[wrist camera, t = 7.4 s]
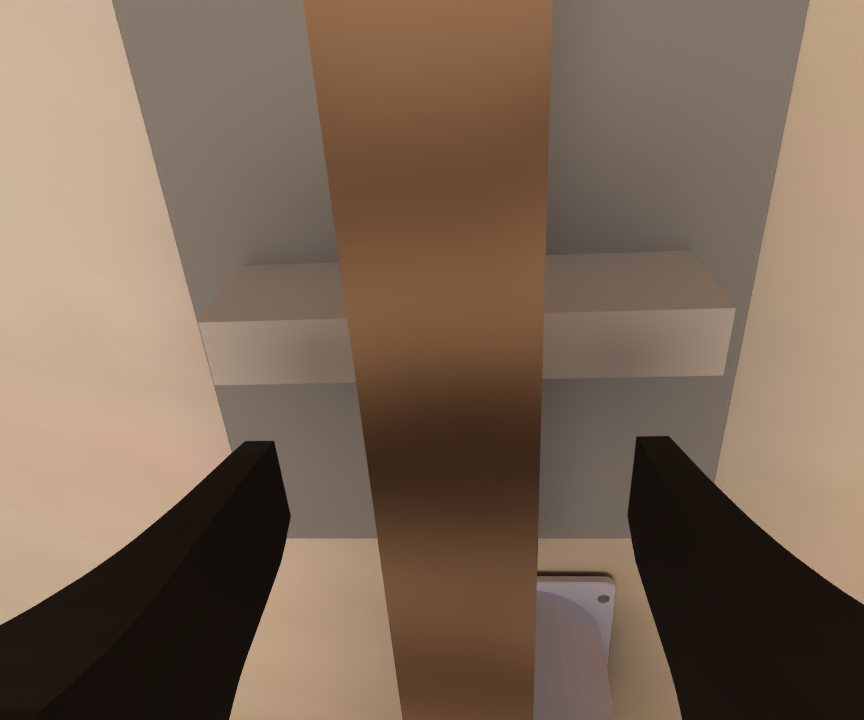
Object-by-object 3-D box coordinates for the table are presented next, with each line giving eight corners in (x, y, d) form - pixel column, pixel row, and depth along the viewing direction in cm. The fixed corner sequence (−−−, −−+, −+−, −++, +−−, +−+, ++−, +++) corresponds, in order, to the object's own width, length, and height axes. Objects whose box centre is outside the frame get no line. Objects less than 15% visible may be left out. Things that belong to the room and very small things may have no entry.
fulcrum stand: (696, 520, 27) (737, 624, 23) (261, 520, 28) (223, 619, 24) (823, -165, 16) (950, -212, 12) (102, -105, 17) (-21, -129, 13)
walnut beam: (521, 622, 23) (531, 771, 19) (421, 621, 24) (409, 767, 19) (530, -177, 12) (560, -254, 8) (342, -160, 13) (271, -227, 8)
